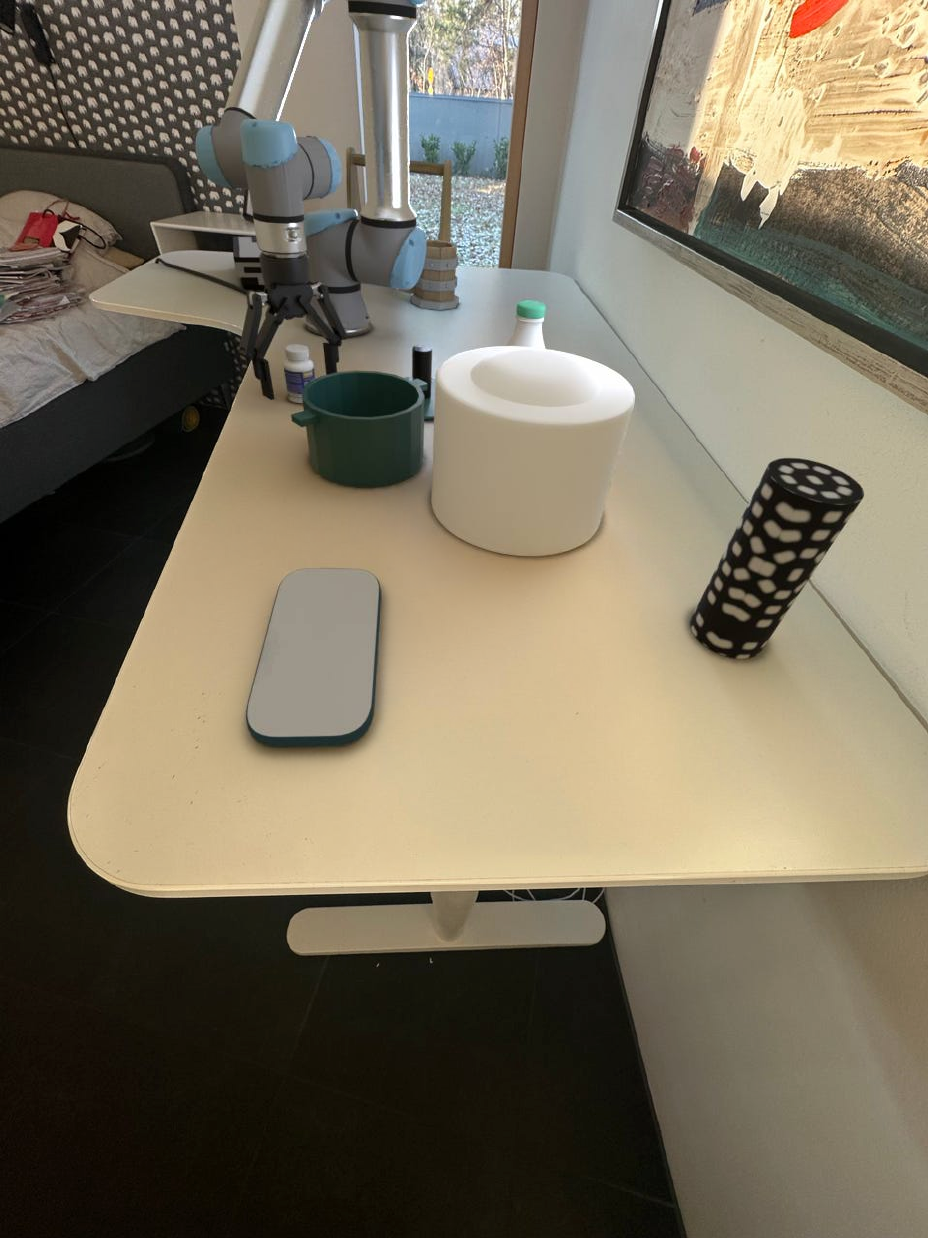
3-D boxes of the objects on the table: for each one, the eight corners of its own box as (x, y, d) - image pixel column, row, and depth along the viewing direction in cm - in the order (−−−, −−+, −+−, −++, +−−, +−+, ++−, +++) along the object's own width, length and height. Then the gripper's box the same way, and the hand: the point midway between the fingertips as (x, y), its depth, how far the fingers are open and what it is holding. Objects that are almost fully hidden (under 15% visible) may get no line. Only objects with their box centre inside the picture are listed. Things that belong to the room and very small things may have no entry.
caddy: (449, 281, 172) (454, 157, 151) (440, 289, 164) (445, 159, 144) (361, 268, 175) (355, 145, 155) (348, 276, 168) (340, 147, 147)
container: (437, 456, 89) (442, 322, 75) (588, 469, 90) (621, 337, 76) (424, 548, 71) (428, 394, 57) (613, 563, 72) (662, 413, 58)
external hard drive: (372, 749, 49) (371, 737, 48) (240, 752, 48) (235, 739, 47) (382, 580, 66) (382, 568, 65) (285, 580, 65) (282, 566, 64)
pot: (273, 458, 85) (260, 390, 78) (389, 420, 98) (387, 359, 91) (339, 507, 77) (332, 436, 70) (456, 459, 89) (461, 395, 82)
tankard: (461, 300, 157) (464, 237, 147) (452, 312, 148) (455, 246, 138) (393, 291, 159) (392, 229, 149) (381, 302, 150) (379, 237, 139)
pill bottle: (310, 406, 100) (304, 354, 94) (283, 401, 100) (275, 350, 94) (321, 395, 104) (316, 345, 98) (295, 390, 104) (288, 341, 98)
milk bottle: (540, 421, 102) (560, 301, 88) (530, 438, 97) (550, 313, 83) (500, 413, 104) (514, 293, 90) (488, 429, 98) (501, 305, 84)
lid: (352, 395, 104) (348, 342, 98) (425, 375, 114) (426, 325, 108) (416, 431, 95) (417, 375, 89) (489, 406, 105) (494, 353, 99)
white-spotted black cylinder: (679, 608, 66) (751, 456, 53) (743, 607, 67) (830, 458, 53) (706, 659, 61) (796, 504, 47) (776, 658, 61) (884, 505, 48)
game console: (306, 264, 174) (303, 233, 169) (318, 292, 153) (315, 257, 147) (237, 263, 169) (232, 231, 163) (240, 292, 147) (233, 256, 142)
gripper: (219, 265, 78) (249, 412, 92) (361, 250, 91) (368, 380, 106) (195, 254, 81) (228, 397, 96) (335, 241, 95) (345, 368, 109)
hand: (301, 389), depth 101 cm, fingers open, 13 cm apart
